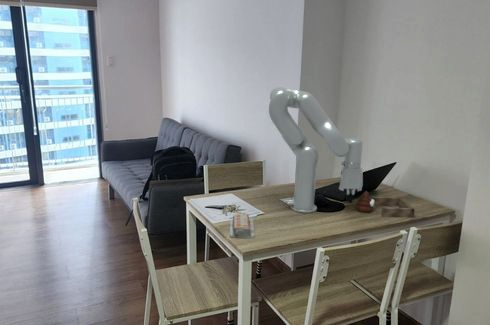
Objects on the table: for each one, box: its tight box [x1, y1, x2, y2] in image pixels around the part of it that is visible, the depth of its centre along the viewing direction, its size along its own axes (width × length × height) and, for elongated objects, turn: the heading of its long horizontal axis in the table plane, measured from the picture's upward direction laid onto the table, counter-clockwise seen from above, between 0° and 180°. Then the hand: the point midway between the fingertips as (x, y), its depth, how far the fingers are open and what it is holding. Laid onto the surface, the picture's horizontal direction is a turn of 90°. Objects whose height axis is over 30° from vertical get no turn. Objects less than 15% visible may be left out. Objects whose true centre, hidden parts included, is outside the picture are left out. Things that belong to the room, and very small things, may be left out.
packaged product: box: [229, 212, 256, 239], centre depth 169 cm, size 18×5×10 cm
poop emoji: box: [355, 190, 375, 214], centre depth 195 cm, size 10×8×9 cm
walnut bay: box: [371, 196, 415, 219], centre depth 196 cm, size 14×17×4 cm
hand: (349, 201), depth 195 cm, fingers closed
